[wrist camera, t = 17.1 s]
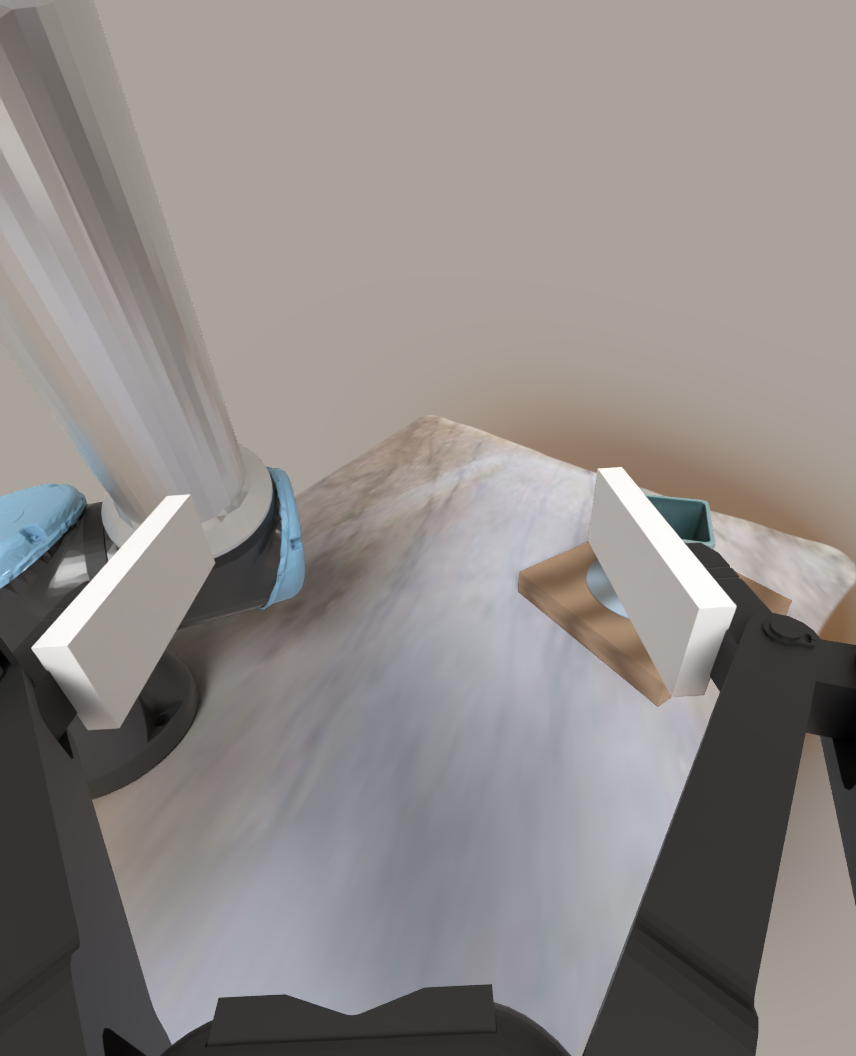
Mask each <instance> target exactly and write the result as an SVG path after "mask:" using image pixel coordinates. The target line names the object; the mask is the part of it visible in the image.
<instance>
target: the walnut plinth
mask: <svg viewBox="0 0 856 1056" xmlns="http://www.w3.org/2000/svg"><path fill="white" fill-rule="evenodd" d="M736 573H737V572H736ZM737 574H738V575H739V578H740V579H742V580H743V581H744V582H745V583H746V584H747V585H748V586H749V587H750V588H751V590H752V591H753V592H754V593H755V594H756V595H757V596H758V597H759V598H760V600H761V601H762V602H763V603H764V604H765V605H766V606H767V607H768V608H769V609H770V611H771V612H772V613H776V614H781V615H785V616H786V614H787V611H788V609H789V607H790V604H791V602H792V600H790V599H788V598H786V597H784V596H782V595H780V594H778V593H776V592H774V591H772V590H770V589H768V588H766V587H764V586H762V585H761V584H759V583H757V582H755V581H753V580H751V579H749V578H747V577H745V576H743V575H741V574H739V573H737ZM518 592H519V593H520V594H522V595H523V596H524V597H525V598H527V599H528V600H529V601H530V602H531V603H533V604H534V605H535V606H536V607H537V608H539V609H540V610H541V611H542V612H544V613H545V614H546V615H547V616H548V617H550V618H551V619H552V620H553V621H554V622H556V623H557V624H558V625H559V626H561V627H562V628H563V629H564V630H565V631H567V632H568V633H569V634H570V635H571V636H573V637H574V638H575V639H576V640H578V641H579V642H580V643H581V644H582V645H584V646H585V647H586V648H587V649H588V650H590V651H591V652H592V653H593V654H595V655H596V656H597V657H598V658H599V659H601V660H602V661H603V662H604V663H606V664H607V665H608V666H609V667H610V668H612V669H613V670H614V671H615V672H616V673H618V674H619V675H620V676H621V677H623V678H624V679H625V680H626V681H627V682H629V683H630V684H631V685H632V686H633V687H635V688H636V689H637V690H638V691H640V692H641V693H642V694H643V695H644V696H646V697H647V698H648V699H649V700H650V701H652V702H653V703H654V704H655V705H657V706H659V705H661V704H662V703H664V702H665V701H667V700H668V699H670V698H671V695H670V693H669V691H668V690H667V688H666V686H665V684H664V682H663V680H662V678H661V676H660V675H659V673H658V671H657V669H656V667H655V665H654V663H653V661H652V660H651V658H650V656H649V654H648V652H647V650H646V648H645V647H644V645H643V643H642V641H641V639H640V637H639V635H638V633H637V632H636V630H635V628H634V626H633V624H632V622H631V620H630V618H629V617H628V615H627V613H626V611H625V609H624V607H623V605H622V603H621V602H620V600H619V598H618V596H617V594H616V592H615V590H614V588H613V587H612V585H611V583H610V581H609V579H608V577H607V575H606V573H605V572H604V570H603V568H602V566H601V564H600V562H599V560H598V559H597V557H596V555H595V553H594V551H593V549H592V547H591V545H590V544H589V542H586V543H584V544H582V545H580V546H577V547H575V548H573V549H570V550H568V551H566V552H564V553H561V554H559V555H557V556H555V557H552V558H550V559H548V560H545V561H543V562H541V563H539V564H536V565H534V566H532V567H530V568H527V569H525V570H523V571H520V572H519V586H518Z"/></svg>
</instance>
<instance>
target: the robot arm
mask: <svg viewBox="0 0 856 1056" xmlns="http://www.w3.org/2000/svg"><path fill="white" fill-rule="evenodd" d="M0 344H1V346H2V347H3V349H4V350H5V351H6V353H7V354H8V355H9V357H10V358H11V360H12V361H13V363H14V364H15V365H16V367H17V368H18V369H19V371H20V372H21V374H22V375H23V376H24V378H25V379H26V380H27V382H28V383H29V385H30V386H31V387H32V389H33V390H34V392H35V393H36V394H37V395H38V397H39V398H40V400H41V401H42V403H43V404H44V405H45V407H46V408H47V409H48V411H49V412H50V414H51V415H52V416H53V418H54V419H55V421H56V422H57V423H58V425H59V426H60V427H61V429H62V430H63V432H64V433H65V434H66V436H67V437H68V438H69V440H70V441H71V443H72V444H73V445H74V447H75V448H76V449H77V451H78V452H79V454H80V455H81V456H82V458H83V459H84V461H85V462H86V463H87V465H88V466H89V467H90V468H91V470H92V471H93V473H94V474H95V476H96V477H97V478H98V480H99V481H100V482H101V484H102V485H103V487H104V488H105V489H106V492H105V495H104V498H103V502H99V503H93V504H86V498H85V496H84V495H83V494H82V493H80V492H79V491H78V490H77V489H76V488H75V487H73V486H70V485H66V484H61V485H57V484H47V485H40V486H36V487H31V488H27V489H23V490H20V491H16V492H13V493H10V494H7V495H5V496H2V497H0V1056H571V1055H570V1054H569V1053H568V1052H567V1051H566V1050H565V1049H564V1047H563V1046H562V1045H561V1044H560V1043H559V1042H558V1041H557V1040H556V1039H555V1038H554V1037H553V1036H552V1035H550V1034H549V1033H548V1032H547V1031H546V1030H545V1029H544V1028H543V1027H541V1026H540V1025H538V1024H537V1023H536V1022H534V1021H533V1020H531V1019H530V1018H528V1017H527V1016H525V1015H523V1014H521V1013H519V1012H517V1011H515V1010H513V1009H512V1008H510V1007H507V1006H504V1005H501V1004H498V1003H495V1002H493V992H492V984H490V985H469V986H449V987H428V988H423V989H420V990H418V991H415V992H413V993H410V994H408V995H405V996H403V997H400V998H398V999H396V1000H393V1001H391V1002H388V1003H386V1004H383V1005H381V1006H378V1007H376V1008H373V1009H371V1010H368V1011H366V1012H364V1013H361V1014H358V1015H346V1014H343V1013H339V1012H336V1011H333V1010H330V1009H327V1008H324V1007H321V1006H318V1005H315V1004H312V1003H309V1002H306V1001H303V1000H300V999H297V998H294V997H291V996H288V995H265V996H245V997H224V998H219V999H218V1003H217V1007H216V1011H215V1015H214V1019H213V1020H212V1021H209V1022H207V1023H206V1024H204V1025H202V1026H200V1027H199V1028H197V1029H195V1030H193V1031H191V1032H190V1033H188V1034H187V1035H185V1036H184V1037H183V1038H181V1039H180V1040H178V1041H177V1042H176V1043H174V1044H173V1045H171V1042H170V1040H169V1038H168V1035H167V1033H166V1032H165V1030H164V1028H163V1026H162V1024H161V1023H160V1021H159V1019H158V1017H157V1015H156V1013H155V1011H154V1008H153V1006H152V1003H151V1000H150V997H149V993H148V990H147V986H146V983H145V979H144V976H143V973H142V969H141V966H140V962H139V959H138V956H137V952H136V949H135V945H134V942H133V938H132V935H131V932H130V928H129V925H128V921H127V918H126V915H125V911H124V908H123V904H122V901H121V897H120V894H119V891H118V887H117V884H116V880H115V877H114V874H113V870H112V867H111V863H110V860H109V857H108V853H107V850H106V846H105V843H104V839H103V836H102V833H101V829H100V826H99V822H98V819H97V816H96V812H95V809H94V805H93V802H92V799H94V798H97V797H100V796H103V795H106V794H108V793H111V792H113V791H115V790H117V789H119V788H121V787H123V786H125V785H127V784H129V783H131V782H132V781H134V780H136V779H137V778H139V777H140V776H142V775H143V774H145V773H146V772H147V771H149V770H150V769H152V768H153V767H154V766H155V765H156V764H158V763H159V762H160V761H161V760H162V759H163V758H164V757H165V756H167V755H168V754H169V753H170V752H171V750H172V749H173V748H174V747H175V746H176V745H177V744H178V743H179V741H180V740H181V739H182V737H183V736H184V734H185V733H186V732H187V730H188V728H189V726H190V725H191V723H192V721H193V718H194V716H195V713H196V710H197V706H198V689H197V685H196V683H195V681H194V679H193V676H192V674H191V672H190V670H189V668H188V667H187V665H186V664H185V663H184V662H183V661H182V660H181V659H180V658H179V657H178V656H176V655H175V654H174V653H173V652H171V651H170V650H169V649H168V648H167V646H168V644H169V642H170V640H171V639H172V637H173V635H174V633H175V632H176V630H179V629H182V628H186V627H190V626H193V625H197V624H201V623H205V622H208V621H212V620H216V619H220V618H223V617H227V616H231V615H234V614H238V613H242V612H246V611H249V610H253V609H258V610H261V609H266V608H268V607H269V606H270V605H271V604H275V603H278V602H281V601H284V600H287V599H290V598H292V597H294V596H295V595H297V594H298V593H299V591H300V590H301V589H302V586H303V584H304V579H305V558H304V549H303V544H302V541H301V526H300V520H299V514H298V509H297V505H296V500H295V496H294V492H293V489H292V486H291V483H290V480H289V477H288V476H287V474H286V472H285V471H283V470H281V469H278V468H270V467H266V466H265V465H264V463H263V462H262V460H261V459H260V458H259V457H258V456H257V455H256V454H255V453H254V452H252V451H251V450H250V449H248V448H247V447H245V446H243V445H241V444H239V443H238V442H237V439H236V436H235V434H234V430H233V427H232V424H231V421H230V417H229V415H228V411H227V408H226V405H225V402H224V399H223V396H222V393H221V390H220V387H219V384H218V381H217V377H216V374H215V371H214V368H213V365H212V362H211V359H210V356H209V353H208V350H207V347H206V344H205V341H204V338H203V335H202V331H201V328H200V325H199V322H198V319H197V316H196V313H195V310H194V307H193V304H192V301H191V298H190V295H189V291H188V288H187V285H186V282H185V279H184V276H183V273H182V270H181V267H180V264H179V261H178V258H177V255H176V251H175V248H174V246H173V242H172V239H171V236H170V233H169V230H168V227H167V224H166V221H165V218H164V215H163V212H162V208H161V206H160V203H159V200H158V196H157V194H156V190H155V187H154V184H153V181H152V178H151V175H150V172H149V169H148V166H147V163H146V159H145V157H144V154H143V150H142V147H141V144H140V141H139V138H138V135H137V132H136V129H135V126H134V122H133V120H132V116H131V113H130V110H129V107H128V104H127V101H126V98H125V95H124V92H123V89H122V86H121V82H120V79H119V76H118V73H117V70H116V67H115V64H114V61H113V58H112V55H111V52H110V49H109V46H108V43H107V39H106V37H105V33H104V30H103V27H102V24H101V21H100V18H99V15H98V12H97V9H96V6H95V3H94V0H0ZM588 542H589V544H590V545H591V547H592V549H593V551H594V553H595V555H596V557H597V559H598V560H599V562H600V564H601V566H602V568H603V570H604V572H605V573H606V575H607V577H608V579H609V581H610V583H611V585H612V587H613V588H614V590H615V592H616V594H617V596H618V598H619V600H620V602H621V603H622V605H623V607H624V609H625V611H626V613H627V615H628V617H629V618H630V620H631V622H632V624H633V626H634V628H635V630H636V632H637V633H638V635H639V637H640V639H641V641H642V643H643V645H644V647H645V648H646V650H647V652H648V654H649V656H650V658H651V660H652V661H653V663H654V665H655V667H656V669H657V671H658V673H659V675H660V676H661V678H662V680H663V682H664V684H665V686H666V688H667V690H668V691H669V693H670V695H671V697H682V696H699V695H705V692H706V689H707V686H708V684H709V681H710V678H712V680H713V682H714V683H715V685H716V686H717V688H718V689H719V691H720V694H719V696H718V699H717V702H716V704H715V707H714V709H713V712H712V714H711V717H710V719H709V723H708V725H707V728H706V731H705V733H704V736H703V739H702V741H701V744H700V746H699V749H698V752H697V754H696V757H695V760H694V762H693V765H692V768H691V770H690V773H689V776H688V778H687V781H686V783H685V786H684V789H683V791H682V794H681V797H680V799H679V802H678V805H677V807H676V810H675V813H674V815H673V818H672V820H671V823H670V826H669V828H668V831H667V834H666V836H665V839H664V842H663V844H662V847H661V850H660V852H659V855H658V857H657V860H656V863H655V865H654V868H653V871H652V873H651V876H650V879H649V881H648V884H647V886H646V889H645V892H644V894H643V897H642V900H641V902H640V905H639V908H638V910H637V913H636V916H635V918H634V921H633V923H632V926H631V929H630V931H629V934H628V937H627V939H626V942H625V945H624V947H623V950H622V953H621V955H620V958H619V960H618V963H617V966H616V968H615V971H614V974H613V976H612V979H611V982H610V984H609V987H608V989H607V992H606V995H605V997H604V1000H603V1002H602V1005H601V1008H600V1010H599V1013H598V1015H597V1018H596V1021H595V1023H594V1026H593V1028H592V1031H591V1034H590V1036H589V1039H588V1042H587V1044H586V1047H585V1050H584V1052H583V1055H582V1056H755V1054H756V1046H757V1039H758V1016H757V1013H756V1010H755V1008H754V996H755V990H756V984H757V978H758V974H759V969H760V964H761V958H762V953H763V948H764V943H765V938H766V933H767V928H768V922H769V917H770V912H771V907H772V902H773V897H774V891H775V887H776V881H777V876H778V871H779V866H780V861H781V856H782V851H783V845H784V841H785V835H786V830H787V825H788V820H789V815H790V810H791V805H792V800H793V794H794V789H795V784H796V779H797V774H798V768H799V763H800V758H801V753H802V748H803V743H804V738H805V733H811V734H816V735H820V738H821V742H822V747H823V752H824V757H825V761H826V765H827V771H828V776H829V780H830V785H831V790H832V795H833V799H834V804H835V809H836V813H837V819H838V823H839V828H840V832H841V837H842V842H843V847H844V852H845V857H846V861H847V866H848V871H849V876H850V880H851V885H852V890H853V895H854V899H855V904H856V645H851V644H845V643H839V642H833V641H826V640H822V639H820V638H819V637H818V635H817V634H816V633H815V632H814V630H812V629H811V628H809V627H808V626H807V625H805V624H804V623H802V622H800V621H798V620H796V619H793V618H791V617H789V616H785V615H781V614H776V613H772V612H771V611H770V609H769V608H768V607H767V606H766V605H765V604H764V603H763V602H762V601H761V600H760V598H759V597H758V596H757V595H756V594H755V593H754V592H753V591H752V590H751V588H750V587H749V586H748V585H747V584H746V583H745V582H744V581H743V580H742V579H740V578H739V575H738V574H737V573H736V572H735V571H734V570H733V569H732V568H730V565H729V564H728V563H727V562H726V561H725V560H724V559H723V557H722V556H721V555H720V554H719V553H718V552H716V551H714V550H713V549H711V548H709V547H708V546H706V545H704V544H703V543H701V542H698V543H684V542H683V541H682V540H681V538H680V537H679V536H678V535H677V533H676V532H675V531H674V530H673V529H672V527H671V526H670V525H669V524H668V523H667V521H666V520H665V519H664V518H663V517H662V515H661V514H660V513H659V512H658V510H657V509H656V508H655V507H654V506H653V504H652V503H651V502H650V501H649V500H648V498H647V497H646V496H645V495H644V494H643V492H642V491H641V490H640V489H639V487H638V486H637V485H636V484H635V483H634V481H633V480H632V479H631V478H630V477H629V475H628V474H627V473H626V472H625V471H624V469H623V468H622V467H618V468H602V469H598V471H597V477H596V485H595V492H594V499H593V506H592V514H591V521H590V528H589V535H588Z"/></svg>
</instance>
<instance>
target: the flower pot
mask: <svg viewBox="0 0 856 1056" xmlns="http://www.w3.org/2000/svg"><path fill="white" fill-rule="evenodd" d="M644 495H645V494H644ZM645 496H646V497H647V498H648V500H649V501H650V502H651V503H652V504H653V506H654V507H655V508H656V509H657V510H658V512H659V513H660V514H661V515H662V517H663V518H664V519H665V520H666V521H667V523H668V524H669V525H670V526H671V527H672V529H673V530H674V531H675V532H676V533H677V535H678V536H679V537H680V538H681V540H682V541H683V542H684V543H698V542H701V543H703V544H704V545H706V546H708V547H709V548H711V549H713V548H714V546H715V537H714V532H713V527H712V522H711V515H710V508H709V504H708V502H707V501H704V500H697V499H696V500H695V499H688V498H674V497H665V496H655V495H645Z"/></svg>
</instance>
